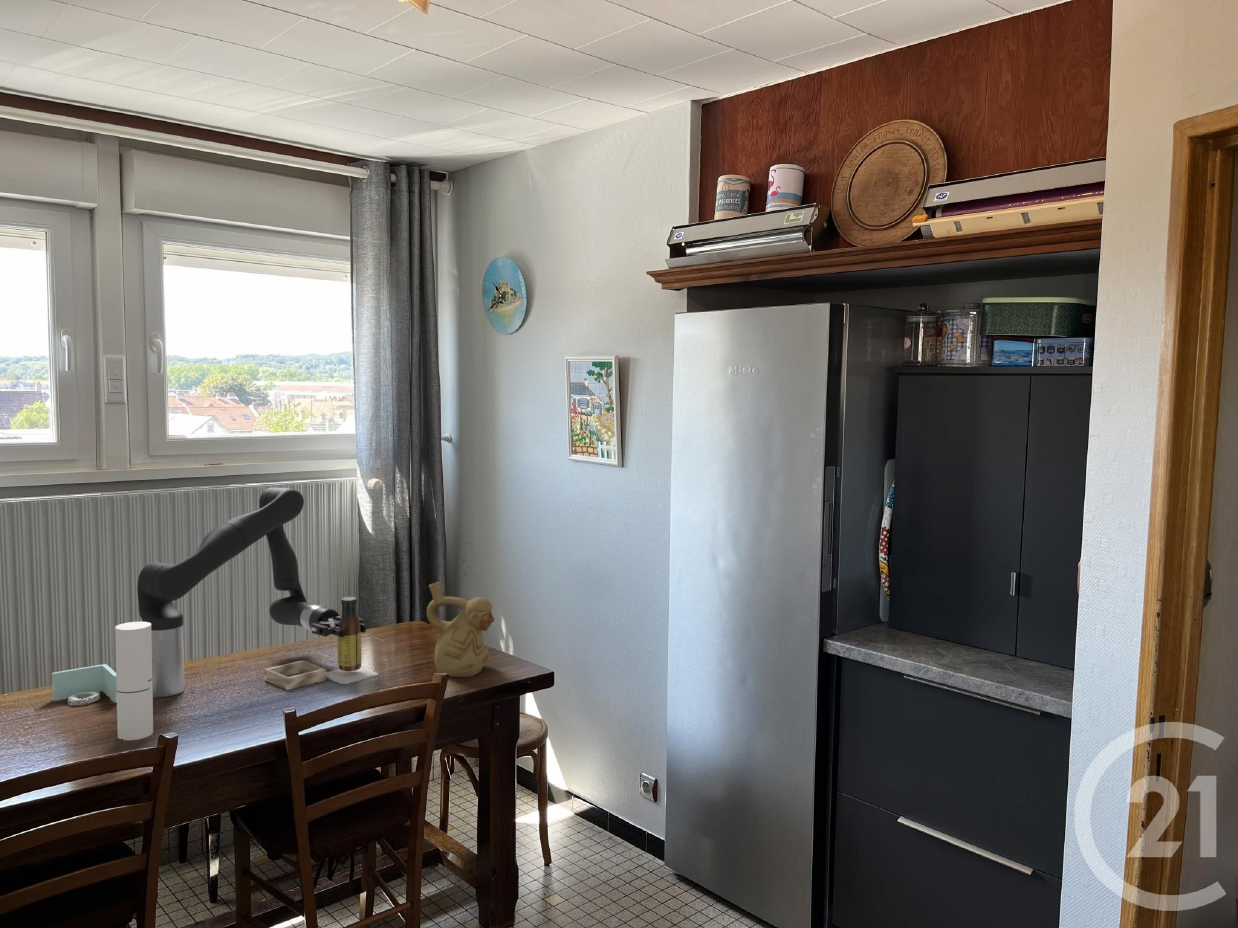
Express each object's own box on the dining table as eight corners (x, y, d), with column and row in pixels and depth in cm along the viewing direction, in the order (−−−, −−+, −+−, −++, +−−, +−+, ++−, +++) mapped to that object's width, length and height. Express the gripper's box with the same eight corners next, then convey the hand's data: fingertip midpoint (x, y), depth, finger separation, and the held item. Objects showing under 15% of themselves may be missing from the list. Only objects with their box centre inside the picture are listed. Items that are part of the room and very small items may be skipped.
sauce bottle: (352, 663, 258) (353, 593, 257) (366, 668, 254) (367, 598, 253) (332, 668, 253) (333, 597, 252) (345, 674, 249) (346, 601, 248)
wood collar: (287, 689, 241) (287, 678, 241) (264, 680, 248) (264, 669, 248) (326, 679, 250) (326, 668, 250) (303, 670, 257) (303, 660, 257)
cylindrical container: (158, 728, 213) (157, 621, 211) (144, 740, 206) (141, 630, 204) (127, 728, 213) (125, 621, 210) (111, 739, 205) (108, 629, 203)
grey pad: (343, 684, 246) (343, 682, 246) (320, 675, 253) (320, 673, 253) (378, 675, 255) (378, 673, 254) (354, 666, 262) (354, 664, 262)
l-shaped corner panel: (52, 702, 230) (52, 672, 229) (106, 692, 238) (105, 663, 237) (64, 715, 221) (63, 685, 220) (119, 704, 229) (119, 675, 228)
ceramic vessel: (484, 682, 251) (485, 591, 249) (415, 677, 254) (416, 587, 252) (502, 664, 267) (503, 579, 265) (437, 659, 270) (437, 575, 268)
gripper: (296, 610, 256) (331, 622, 245) (342, 602, 267) (376, 613, 256) (296, 637, 257) (331, 650, 246) (342, 627, 268) (376, 639, 257)
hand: (354, 631), depth 251 cm, fingers closed on sauce bottle, 6 cm apart
